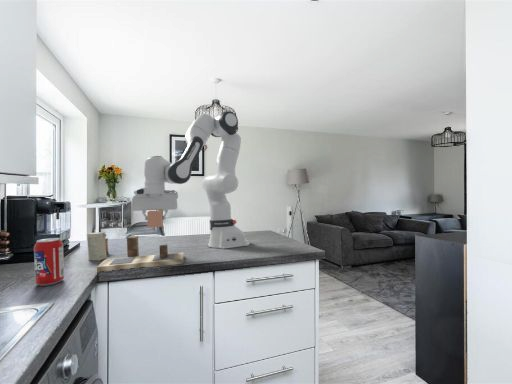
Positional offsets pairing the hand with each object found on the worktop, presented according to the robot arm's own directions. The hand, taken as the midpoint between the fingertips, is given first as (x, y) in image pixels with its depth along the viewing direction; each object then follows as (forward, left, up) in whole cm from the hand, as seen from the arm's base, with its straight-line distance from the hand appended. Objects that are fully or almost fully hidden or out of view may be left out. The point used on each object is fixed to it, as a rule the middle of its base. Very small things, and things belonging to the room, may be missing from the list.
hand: (155, 219), depth 125 cm
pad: (+12, +13, -15) cm, 23 cm away
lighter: (+28, -13, -17) cm, 35 cm away
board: (+4, +13, -17) cm, 22 cm away
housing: (0, 0, -3) cm, 3 cm away
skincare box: (+26, -3, -17) cm, 31 cm away
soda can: (+32, +27, -17) cm, 45 cm away
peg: (+10, +2, -17) cm, 20 cm away
